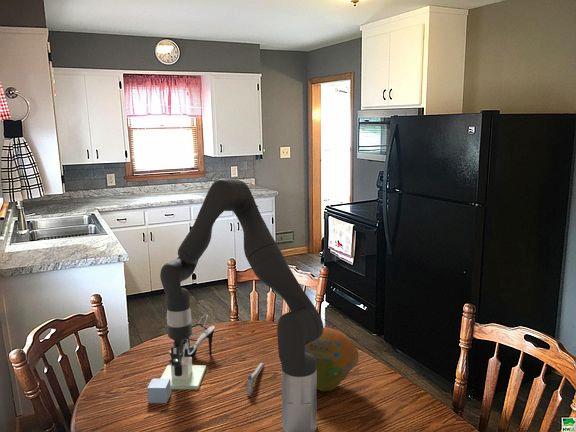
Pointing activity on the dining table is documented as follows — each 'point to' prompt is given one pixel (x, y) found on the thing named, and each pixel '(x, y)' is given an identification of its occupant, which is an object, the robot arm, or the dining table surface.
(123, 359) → the dining table surface
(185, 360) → the white cube
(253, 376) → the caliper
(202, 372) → the base plate
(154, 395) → the brick top
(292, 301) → the robot arm
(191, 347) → the sandal
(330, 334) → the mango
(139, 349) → the dining table surface
